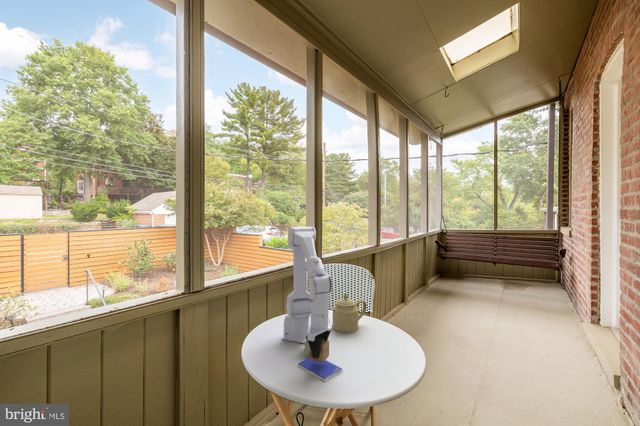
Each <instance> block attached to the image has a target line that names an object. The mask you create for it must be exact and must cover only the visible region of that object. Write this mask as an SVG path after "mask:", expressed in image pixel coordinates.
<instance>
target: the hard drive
mask: <svg viewBox="0 0 640 426" xmlns="http://www.w3.org/2000/svg"><path fill="white" fill-rule="evenodd" d="M297 366H298V367H300V368H301V369H303V370H305V371H306V372H308V373H310V374H311V375H314V376H315V377H317V378H318V379H321V380H322V381H324V382H327V381H328V380H330V379H332V378H334V377H335V376H337V375H338V374H341V373H342V372H343V368H342V367H341V366H339V365H337V364H334V363H332V362H330V361H328V360H327V359H326V360H325V362H324V363H321V362H317V361H312V360H309V357H307V358H306V359H303V360H301V361H300V362H298V363H297Z"/></svg>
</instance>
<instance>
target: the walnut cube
mask: <svg viewBox="0 0 640 426" xmlns="http://www.w3.org/2000/svg"><path fill="white" fill-rule="evenodd" d="M329 356H330V340H328V341H327V340H323V342H322V345H321V350H320V356H319V358H314V357H312V353H311V349H310V346H309V355H308V358H309V360H312V361H317V362H321V363H324V362H325V360H326V361H327V359H328V357H329Z"/></svg>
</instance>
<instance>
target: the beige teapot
mask: <svg viewBox="0 0 640 426" xmlns="http://www.w3.org/2000/svg"><path fill="white" fill-rule="evenodd" d="M361 303H363V306H362V310H361V312H359V309H360V307H359V306H360V304H361ZM366 311H367V302H366V301H365V300H364V299H358V300H357V302H355V301H354V300H353V299H351V298H349V295H348V293H347V292H345V293H344V294H343V298H340V299H338V300H336V302H335V304H334V305H333V306H332V328H333V329H334V330H335V331H337V332H340V333H353V332H356V331H357V330H358V329H359V320H360V319H361V318H362V317H363V316H364V315H365V313H366Z"/></svg>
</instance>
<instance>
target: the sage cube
mask: <svg viewBox="0 0 640 426" xmlns="http://www.w3.org/2000/svg"><path fill="white" fill-rule="evenodd" d="M304 355H306V356H309V343H308V341H307V340H306V339H305V343H304Z"/></svg>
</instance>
